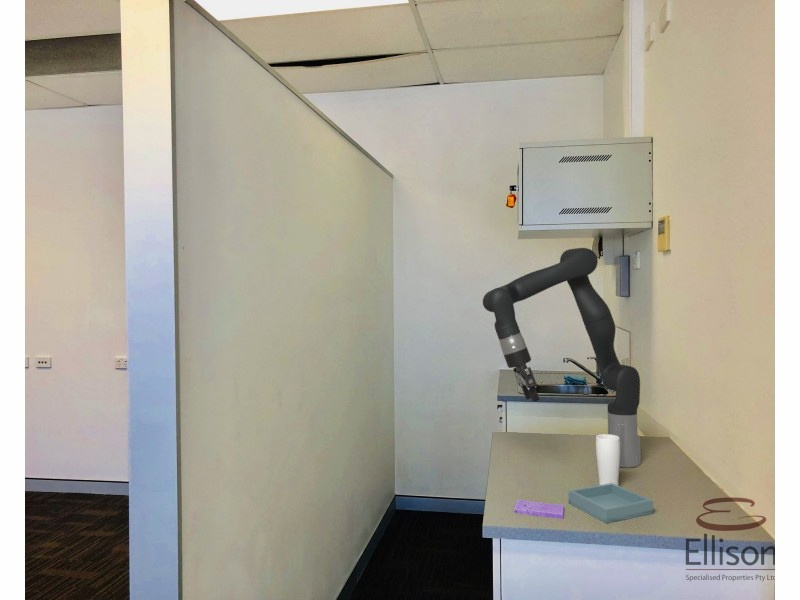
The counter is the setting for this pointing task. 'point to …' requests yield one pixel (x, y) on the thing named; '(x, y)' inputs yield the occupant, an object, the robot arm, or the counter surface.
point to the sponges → (539, 509)
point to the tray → (610, 502)
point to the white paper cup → (608, 458)
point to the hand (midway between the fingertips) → (532, 399)
